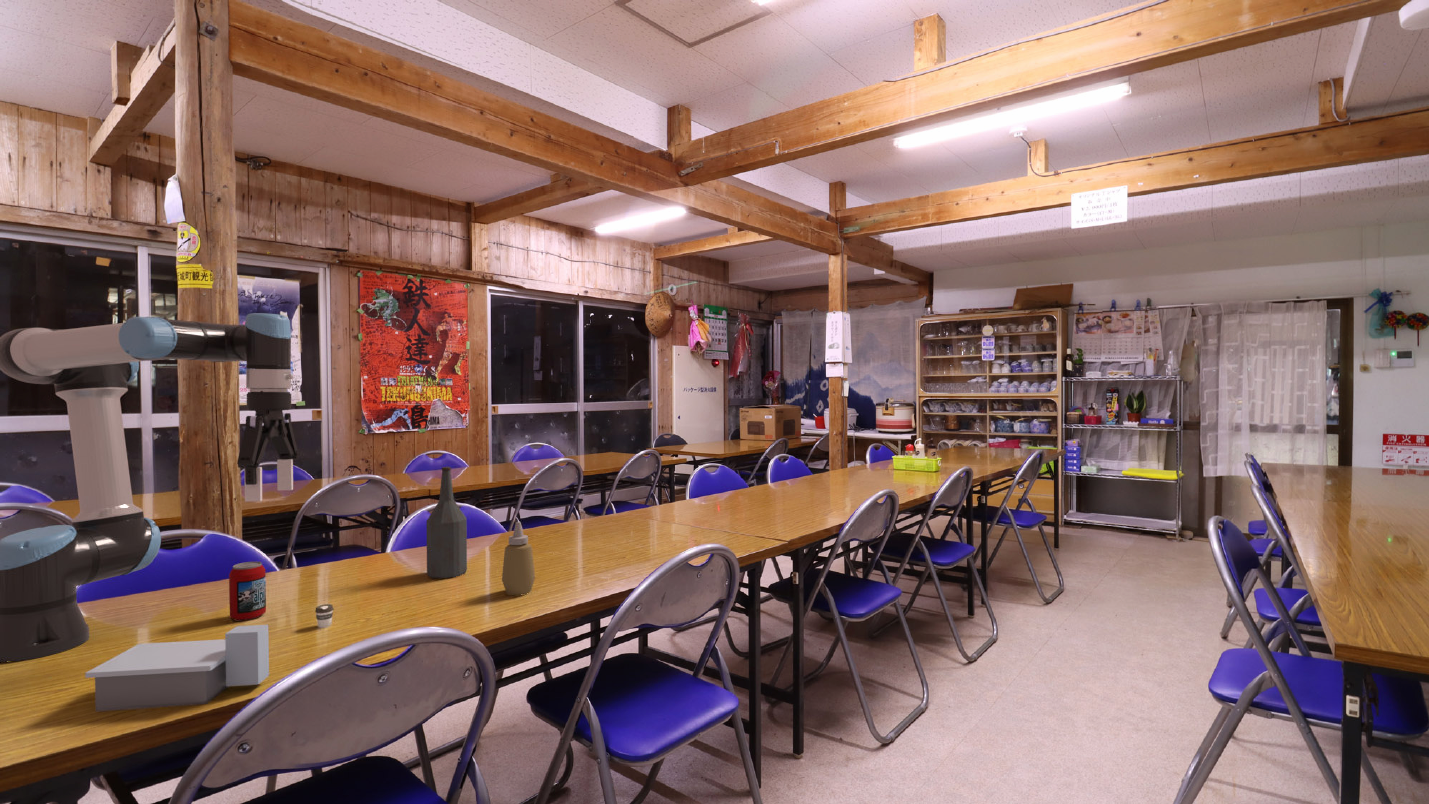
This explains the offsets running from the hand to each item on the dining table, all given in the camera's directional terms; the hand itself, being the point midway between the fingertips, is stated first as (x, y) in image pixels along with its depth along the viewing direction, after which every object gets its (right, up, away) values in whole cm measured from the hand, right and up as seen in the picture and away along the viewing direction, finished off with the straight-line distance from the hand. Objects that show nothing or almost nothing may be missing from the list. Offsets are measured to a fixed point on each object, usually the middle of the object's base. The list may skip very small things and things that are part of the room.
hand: (270, 495), depth 134 cm
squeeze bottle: (+41, -30, +33) cm, 60 cm away
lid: (+1, -29, -22) cm, 36 cm away
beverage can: (-15, -30, +15) cm, 37 cm away
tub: (-2, -31, -22) cm, 38 cm away
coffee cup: (+6, -30, +9) cm, 32 cm away
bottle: (+16, -29, +49) cm, 60 cm away
